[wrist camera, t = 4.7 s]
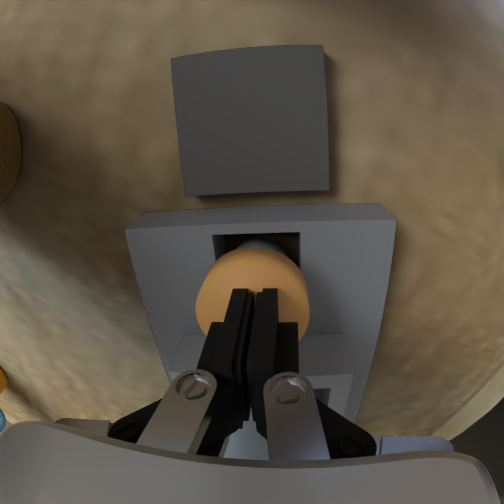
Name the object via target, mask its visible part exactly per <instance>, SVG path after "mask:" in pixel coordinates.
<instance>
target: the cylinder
mask: <svg viewBox="0 0 504 504" xmlns="http://www.w3.org/2000/svg"><path fill="white" fill-rule="evenodd" d="M7 384H8V380H7V378H6V376H5V374H4V372H3V371H2V370H1V368H0V394H1V393H2V391H3V390H4V389H5V387H6V386H7ZM0 419H1V422H0V432H1V431H2V430H3V429H4V428H5V424H6V418H5V415H4V413H3V411H2V410H1V409H0Z"/></svg>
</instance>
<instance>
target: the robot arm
mask: <svg viewBox="0 0 504 504" xmlns="http://www.w3.org/2000/svg"><path fill="white" fill-rule="evenodd" d="M251 409H252V417H253V421H255V422H256V430H257V432H258V433H259V434H260V435H261V436H263V437H264V438H265V439H266V440H267V445H268V455H269V460H249V459H234V458H223V457H224V454H225V451H226V449H227V446H228V443H229V440H230V435H231V434H233V433H234V432H236V431H237V430H238V429H242V428H243V422H244V421H249V418H250V410H251ZM0 504H500V500H499V497H498V494H497V491H496V488H495V486H494V483H493V481H492V479H491V476H490V475H489V473H488V471H487V470H486V468H485V466H484V465H483V464H482V463H481V462H480V461H479V460H477V459H476V458H473V457H471V456H469V455H465V454H461V453H456V452H454V449H453V446H452V445H451V443H450V442H449V441H448V440H446V439H444V438H441V437H416V436H391V435H383V436H382V438H379V437H372V436H371V435H370V434H369V433H368V432H366V431H365V430H363V429H362V428H360V427H358V426H357V425H355V424H354V423H352V422H351V421H349V420H348V419H346V418H345V417H343V416H342V415H340V414H339V413H337V412H336V411H334V410H333V409H331V408H330V407H328V406H327V405H325V404H324V403H322V402H321V401H319V400H318V399H316V398H315V395H314V391H313V387H312V385H311V383H310V381H309V380H308V379H307V378H306V377H305V376H303V375H301V374H299V340H298V322H279V313H278V288H263V291H262V292H257V297H256V304H254V293H253V292H248V288H233V290H232V293H231V297H230V300H229V304H228V307H227V311H226V314H225V318H224V322H212V323H211V325H210V328H209V331H208V334H207V337H206V340H205V343H204V346H203V349H202V352H201V355H200V358H199V361H198V365H197V368H196V369H193V370H188V371H185V372H183V373H181V374H179V375H178V376H177V377H176V378H175V379H174V380H173V381H172V383H171V385H170V387H169V388H168V390H167V392H166V393H165V395H164V397H163V398H162V399H160V400H158V401H156V402H154V403H152V404H150V405H148V406H146V407H144V408H142V409H140V410H138V411H136V412H134V413H131V414H129V415H127V416H125V417H123V418H121V419H119V420H118V421H116V422H115V423H111V422H110V420H87V419H71V418H63V419H60V420H57V421H56V422H55V423H52V422H45V421H24V422H18V423H15V424H12V425H10V426H9V427H8V428H7V429H6V430H4V431H3V433H2V434H1V435H0Z"/></svg>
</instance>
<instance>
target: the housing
mask: <svg viewBox="0 0 504 504" xmlns="http://www.w3.org/2000/svg"><path fill="white" fill-rule="evenodd" d="M395 230H396V219H395V218H394V217H393V216H392V215H391V213H390V212H389V211H388V210H387V209H386V208H385V207H384V206H383V205H382V204H304V205H271V206H246V207H225V208H207V209H190V210H175V211H161V212H148V213H143V214H142V215H140V216H139V217H138V218H137V219H136V220H134V221H133V222H132V223H131V224H130V225H129V226H127V227H126V228H125V229H124V231H125V236H126V240H127V244H128V248H129V252H130V256H131V260H132V264H133V268H134V272H135V276H136V279H137V283H138V287H139V290H140V294H141V297H142V301H143V304H144V307H145V311H146V314H147V317H148V320H149V323H150V327H151V330H152V333H153V336H154V339H155V342H156V345H157V348H158V351H159V354H160V356H161V359H162V362H163V365H164V368H165V370H166V373H167V376H168V378H169V381H170V384H171V383H172V381H173V380H174V379H175V378H176V377H177V376H178V375H179V374H181V373H183V372H185V371H188V370H193V369H196V368H197V365H198V361H199V358H200V355H201V352H202V349H203V346H204V343H205V340H206V337H207V336H206V335H205V334H204V332H203V331H202V329H201V328H200V325H199V323H198V320H197V317H196V300H197V297H198V294H199V292H200V289H201V287H202V285H203V282H204V280H205V278H206V275H207V273H208V271H209V269H210V268H211V266H212V265H213V264H214V262H215V261H217V260H218V259H219V258H220V257H221V256H223V255H224V254H226V249H225V241H224V234H249V233H282V232H298V266H299V269H300V271H301V272H302V274H303V276H304V278H305V281H306V285H307V293H308V302H309V313H310V317H309V323H308V327H307V329H306V331H305V333H304V335H303V336H302V338H301V339H300V340H299V374H301V375H303V376H305V377H306V378H307V379H308V380H309V381H310V383H311V385H312V387H313V391H314V395H315V398H316V399H318V400H319V401H321V402H322V403H324V404H325V405H327V406H328V407H330V408H331V409H333V410H334V411H336V412H337V413H339V414H340V415H342V416H343V417H345V418H346V419H348V420H349V421H351V422H352V423H354V424H355V421H356V418H357V415H358V411H359V408H360V405H361V402H362V398H363V395H364V391H365V388H366V384H367V380H368V377H369V373H370V369H371V365H372V361H373V357H374V353H375V349H376V344H377V340H378V335H379V331H380V326H381V321H382V316H383V311H384V306H385V300H386V295H387V289H388V283H389V276H390V270H391V263H392V255H393V248H394V239H395Z"/></svg>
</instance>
